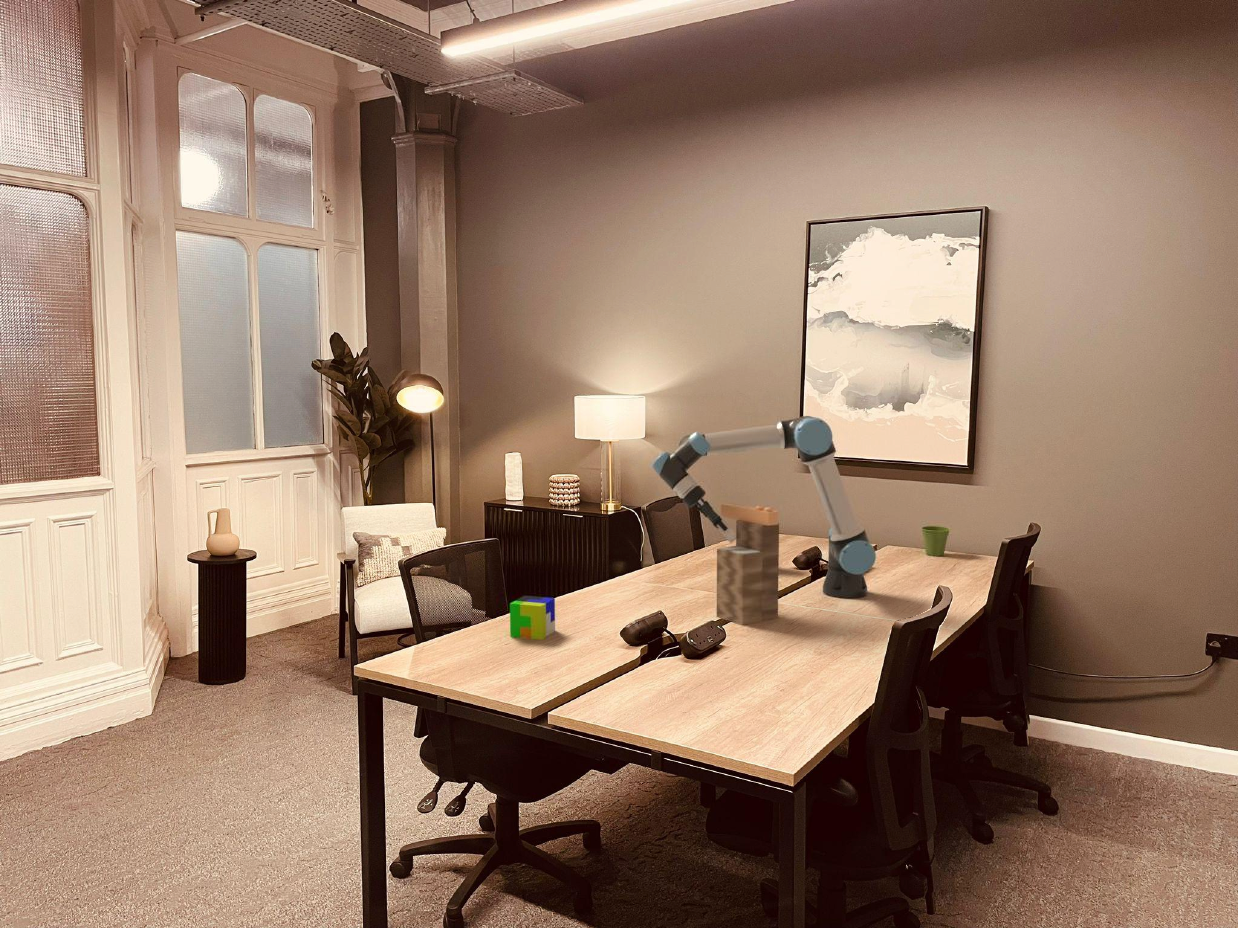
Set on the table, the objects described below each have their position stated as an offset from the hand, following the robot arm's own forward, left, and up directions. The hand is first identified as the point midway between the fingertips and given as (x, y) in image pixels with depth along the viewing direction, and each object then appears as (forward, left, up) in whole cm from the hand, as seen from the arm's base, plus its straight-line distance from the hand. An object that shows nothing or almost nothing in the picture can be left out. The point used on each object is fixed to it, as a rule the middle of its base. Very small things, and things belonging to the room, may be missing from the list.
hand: (734, 539), depth 301 cm
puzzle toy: (+67, +17, -23) cm, 73 cm away
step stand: (-1, +11, -23) cm, 25 cm away
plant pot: (-108, -67, -23) cm, 129 cm away
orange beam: (-3, +6, +7) cm, 10 cm away
